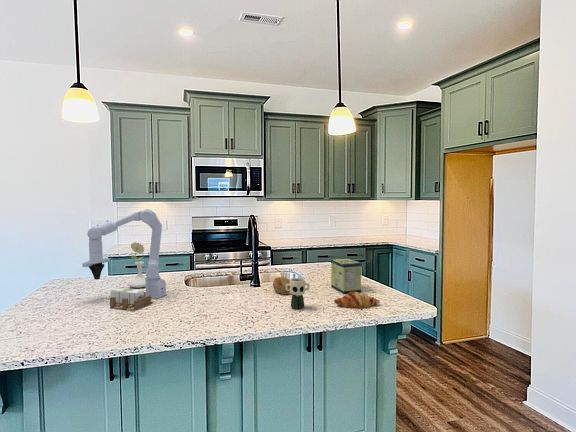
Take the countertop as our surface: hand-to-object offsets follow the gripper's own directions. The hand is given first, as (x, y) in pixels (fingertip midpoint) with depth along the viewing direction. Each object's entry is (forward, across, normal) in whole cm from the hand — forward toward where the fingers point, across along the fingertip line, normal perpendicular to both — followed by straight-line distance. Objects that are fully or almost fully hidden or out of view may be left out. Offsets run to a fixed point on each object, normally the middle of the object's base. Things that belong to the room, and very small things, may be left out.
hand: (97, 279), depth 183 cm
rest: (+10, +2, +23) cm, 25 cm away
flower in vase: (+11, -28, +1) cm, 30 cm away
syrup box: (+6, +1, +11) cm, 13 cm away
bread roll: (+11, -42, +81) cm, 92 cm away
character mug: (+11, -19, +97) cm, 99 cm away
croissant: (+11, -31, +122) cm, 126 cm away
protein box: (+11, -57, +112) cm, 126 cm away
